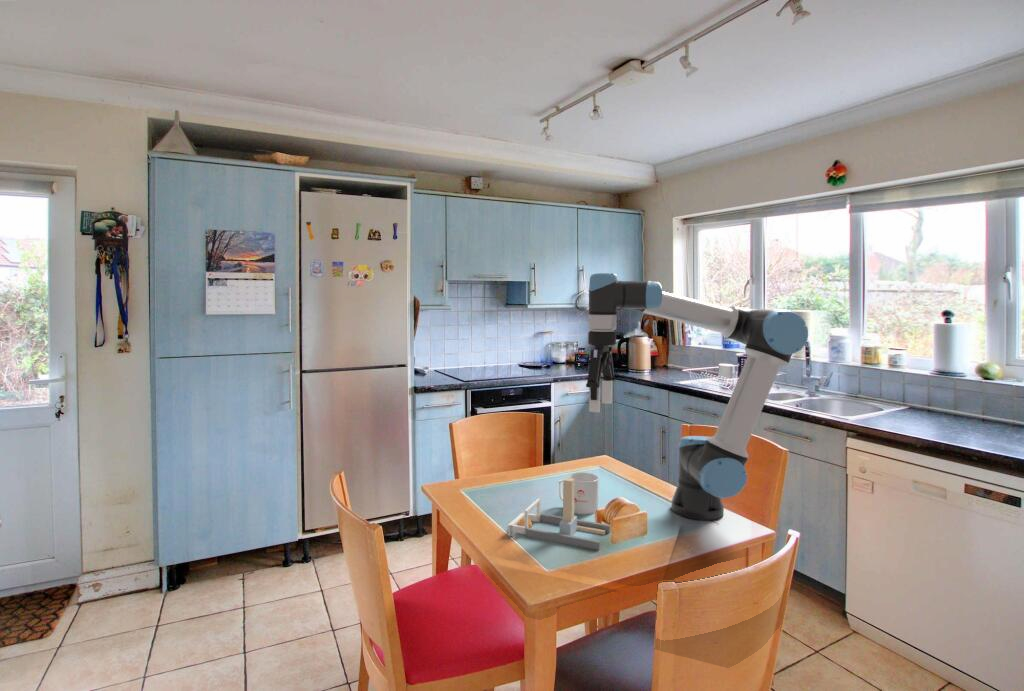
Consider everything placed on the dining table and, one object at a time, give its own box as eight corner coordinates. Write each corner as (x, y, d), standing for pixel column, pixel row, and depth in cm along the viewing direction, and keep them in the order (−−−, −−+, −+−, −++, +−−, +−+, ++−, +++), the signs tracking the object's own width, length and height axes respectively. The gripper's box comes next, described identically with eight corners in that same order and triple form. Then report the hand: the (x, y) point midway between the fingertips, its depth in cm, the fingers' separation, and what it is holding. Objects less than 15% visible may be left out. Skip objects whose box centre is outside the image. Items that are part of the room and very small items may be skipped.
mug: (599, 509, 168) (600, 473, 167) (596, 520, 160) (596, 483, 159) (561, 505, 171) (561, 470, 171) (556, 515, 163) (556, 479, 162)
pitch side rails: (610, 536, 148) (610, 524, 148) (599, 554, 138) (599, 542, 137) (541, 524, 156) (541, 513, 156) (525, 540, 146) (525, 529, 145)
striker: (576, 530, 149) (577, 476, 148) (570, 539, 144) (571, 483, 142) (566, 528, 150) (567, 475, 149) (559, 537, 145) (560, 482, 144)
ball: (531, 530, 153) (535, 518, 153) (526, 535, 150) (530, 523, 149) (520, 524, 155) (523, 513, 154) (515, 529, 151) (518, 518, 151)
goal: (540, 525, 156) (540, 498, 155) (527, 539, 146) (527, 510, 146) (522, 522, 158) (522, 495, 157) (508, 535, 149) (508, 507, 148)
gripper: (600, 328, 161) (599, 399, 163) (575, 332, 139) (574, 414, 140) (625, 328, 158) (624, 401, 160) (604, 333, 136) (602, 417, 137)
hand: (600, 407), depth 150 cm, fingers open, 13 cm apart
